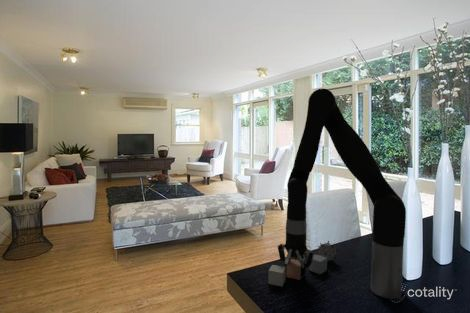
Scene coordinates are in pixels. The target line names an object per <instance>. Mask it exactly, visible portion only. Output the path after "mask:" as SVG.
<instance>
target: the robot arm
mask: <svg viewBox="0 0 470 313" xmlns="http://www.w3.org/2000/svg"><path fill="white" fill-rule="evenodd" d="M336 100H337V99H336V97H335V95H334V93H333V92H332V91H331V90H330V89H327V88H323V87H322V88H317V89H316V90H314V91H313V92H312V93H311V94H310V96H309V97H308V103H307V104H308V105H307V112H306V118H305V119H306V120H305V125H304V128H303V133H302V136H301V139H300V143H299V146H298V148H297V151H296V154H295V158H294V163H293V167H292V170H291V173H290V175H289V178H288V181H287V185H286V186H287V206H286V221H285V243H284V244H283V243H279V245H277V250H278V254H279V261H280V262H283V263H284V265H285V266H284V267H286V271H285V274H287V263H288V262H289V261H290V260H291V259H292V258H296V259H297V260H298V261H299V262H300V264H301V277H302V278H304V277H305V276H306V274H307V268H309V266H310V265H311V263H312V260H313V256H314V255H315V254H316V253H315V250H310V249H308V247H307V231H308V230H307V200H308V180H309V176H310V173H311V172H312V171H313V169H314V165H315V162H316V159H317V155H318V152H319V148H320V142H321V136H322V132H323V130H324V128H325V130H326V131H327V133H328V134H329V137H330V139H331V141H332V143H333V146H334V148H335V150H336V152H337V154H338V156H339V157H340V159H341V160H342V162H343V164H344V165H345V167H346V169H348V171H349V172H350V174H352V175H353V177H354V178H355V179H357V181H358V182H359V183H360V184H361V186H363V189H365V191H366V193H367V196H368V198H369V199H370V201H371V204H372V205H373V209H372V210H373V211H372V212H373V213H372V214H373V215H372V242H371V243H372V244H371V247H372V248H371V267H370V290H371V292H372V293H373V294H375V295H376V296H378V297H380V298H385V299H391V300H392V299H393V300H394V299H396V300H401V299H402V290H403V289H402V287H403V267H404V266H403V262H404V261H403V260H404V245H405V244H404V242H405V235H406V222H407V221H406V220H407V219H406V218H407V216H406V215H407V210H406V205H405V203H404V201H403V199H402V198H401V197H400V196H399V194H398V193H397V192H396V191H395V190H394V189H393V188H392V186H391V185H390V184H389V183H388V181H387V179H385V177H384V176H383V173H382V172H381V169H380V168H379V165H378V163H377V161H376V160H375V158H374V156H373V154H372V153H371V151H370V149H369V148H368V146H367V145H366V143H365V141H363V139H362V137H361V136H360V135H359V134H358V133H357V131H356V130H355V129H354V128H353V127H352V126H351V125H350V124H349V122H348V121H347V120H346V118H345V117H344V115H343V113H342V111H341V110H340V107H339V105H338V103H337V101H336ZM285 250H286V253H287V254H285ZM305 254H306V255H307V260H306V257H305Z"/></svg>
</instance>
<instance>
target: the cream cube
mask: <svg viewBox="0 0 470 313" xmlns="http://www.w3.org/2000/svg"><path fill="white" fill-rule="evenodd" d="M267 282H268V285H272V286H277V287H283V286H284V284H285V282H286V267H285V266H282V265H275V264H271V266H270V267H269V269H268V280H267Z"/></svg>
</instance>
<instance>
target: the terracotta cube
mask: <svg viewBox="0 0 470 313" xmlns="http://www.w3.org/2000/svg"><path fill="white" fill-rule="evenodd" d="M285 278H289V279H294V280H297V281H300V280H301V279H302V278H303V277H301V264H300V262H299V260H298V259H294V258H291V259H290V261H289V262H288V263H287V273H286V275H285Z"/></svg>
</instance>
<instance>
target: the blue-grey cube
mask: <svg viewBox="0 0 470 313" xmlns="http://www.w3.org/2000/svg"><path fill="white" fill-rule="evenodd" d="M316 254H317V253H314V256H313V260H312V263H311V265H310V266H309V267H308V271H310V272H313V273H315V274H318V275H321V274H323V273H325V272H326V271H327V269H328V262H327V258H325V257H322V256H319V255H318V254H317V255H316Z"/></svg>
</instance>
